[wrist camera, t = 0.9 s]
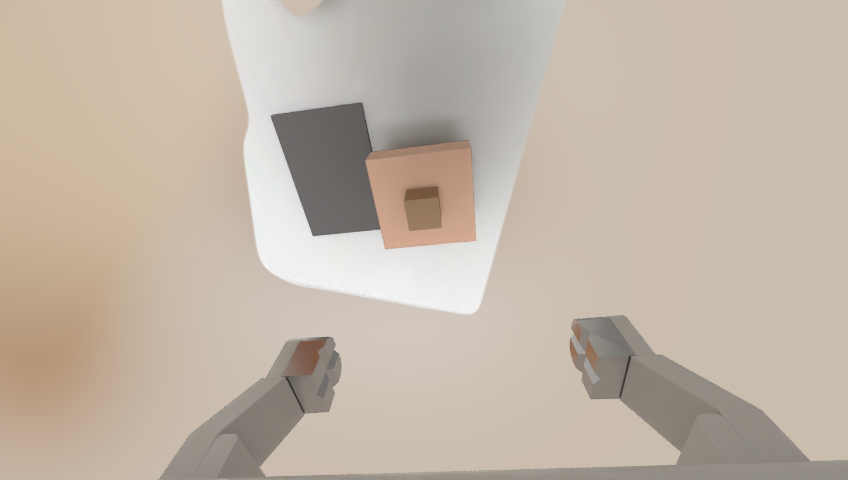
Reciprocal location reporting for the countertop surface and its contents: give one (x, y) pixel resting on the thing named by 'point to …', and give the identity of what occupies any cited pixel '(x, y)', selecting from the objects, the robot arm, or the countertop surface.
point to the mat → (330, 167)
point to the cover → (424, 194)
